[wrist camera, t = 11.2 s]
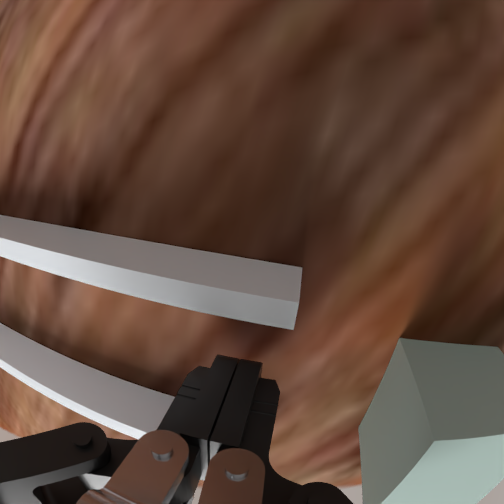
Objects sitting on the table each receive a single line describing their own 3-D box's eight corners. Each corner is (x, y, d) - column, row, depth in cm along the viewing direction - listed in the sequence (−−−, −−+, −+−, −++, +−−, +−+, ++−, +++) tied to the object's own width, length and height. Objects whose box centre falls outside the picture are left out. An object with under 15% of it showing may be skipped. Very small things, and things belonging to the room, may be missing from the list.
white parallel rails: (-39, 207, 13) (-68, 217, 10) (302, 267, 10) (298, 303, 8) (-18, 320, 15) (-41, 335, 13) (267, 429, 13) (258, 472, 10)
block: (398, 336, 10) (434, 440, 6) (497, 345, 10) (549, 424, 5) (358, 426, 12) (363, 520, 7) (448, 428, 11) (472, 507, 6)
